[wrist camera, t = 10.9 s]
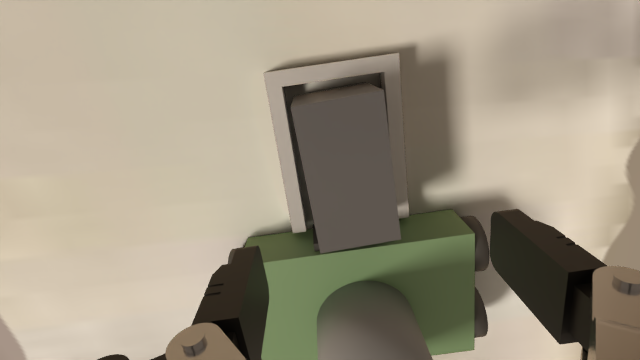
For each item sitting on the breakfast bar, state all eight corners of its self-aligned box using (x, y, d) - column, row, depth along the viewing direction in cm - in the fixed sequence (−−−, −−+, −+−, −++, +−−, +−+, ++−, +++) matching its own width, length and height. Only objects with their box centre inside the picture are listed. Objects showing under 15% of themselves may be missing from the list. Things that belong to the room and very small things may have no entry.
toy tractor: (196, 82, 24) (111, 101, 14) (464, 42, 24) (586, 32, 13) (260, 340, 31) (236, 482, 21) (465, 312, 31) (545, 442, 20)
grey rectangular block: (294, 95, 25) (290, 107, 19) (365, 82, 24) (383, 89, 19) (317, 212, 28) (320, 253, 22) (381, 201, 27) (401, 239, 22)
